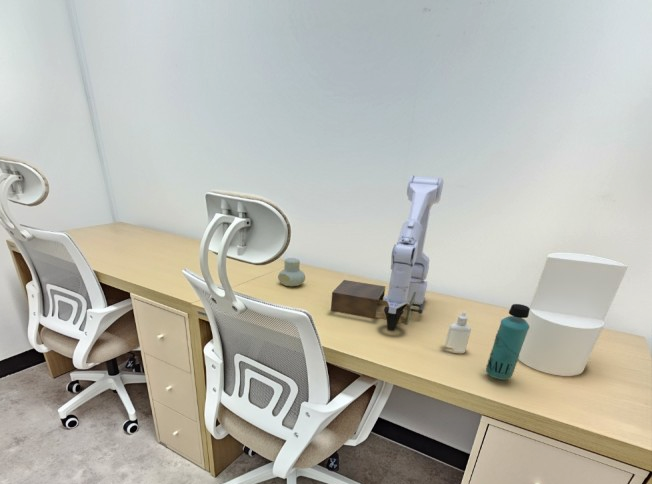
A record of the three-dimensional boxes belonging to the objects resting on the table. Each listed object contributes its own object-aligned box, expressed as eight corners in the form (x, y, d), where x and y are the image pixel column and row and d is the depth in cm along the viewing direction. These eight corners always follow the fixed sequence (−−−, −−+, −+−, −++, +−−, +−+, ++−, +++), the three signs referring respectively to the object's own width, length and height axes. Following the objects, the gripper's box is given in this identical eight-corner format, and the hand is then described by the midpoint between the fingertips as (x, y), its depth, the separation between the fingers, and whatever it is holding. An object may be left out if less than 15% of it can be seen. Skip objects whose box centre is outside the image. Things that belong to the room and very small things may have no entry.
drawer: (423, 312, 135) (427, 293, 132) (418, 328, 124) (422, 308, 121) (370, 303, 141) (373, 285, 138) (361, 318, 130) (363, 298, 126)
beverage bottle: (503, 371, 104) (526, 300, 94) (515, 385, 99) (542, 311, 89) (479, 371, 104) (500, 300, 94) (490, 385, 98) (514, 311, 88)
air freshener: (308, 285, 158) (309, 260, 153) (294, 290, 152) (294, 265, 147) (289, 278, 164) (289, 255, 159) (274, 283, 159) (274, 258, 154)
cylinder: (512, 340, 121) (542, 249, 107) (576, 352, 115) (617, 257, 102) (517, 367, 106) (553, 266, 93) (590, 381, 101) (640, 276, 88)
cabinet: (382, 307, 140) (385, 286, 136) (374, 322, 129) (377, 299, 125) (342, 300, 145) (343, 279, 141) (330, 314, 133) (332, 292, 129)
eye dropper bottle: (461, 356, 111) (471, 317, 105) (441, 350, 114) (451, 311, 108) (466, 351, 114) (477, 313, 108) (447, 344, 117) (457, 307, 111)
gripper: (390, 275, 123) (384, 315, 130) (380, 290, 111) (374, 333, 118) (413, 279, 121) (405, 319, 128) (406, 294, 109) (398, 338, 116)
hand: (392, 326), depth 123 cm, fingers open, 4 cm apart
